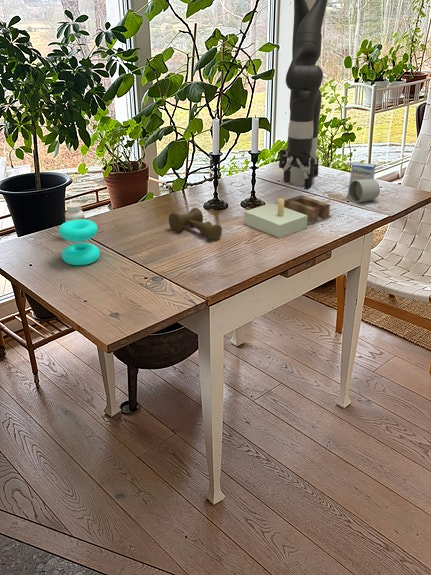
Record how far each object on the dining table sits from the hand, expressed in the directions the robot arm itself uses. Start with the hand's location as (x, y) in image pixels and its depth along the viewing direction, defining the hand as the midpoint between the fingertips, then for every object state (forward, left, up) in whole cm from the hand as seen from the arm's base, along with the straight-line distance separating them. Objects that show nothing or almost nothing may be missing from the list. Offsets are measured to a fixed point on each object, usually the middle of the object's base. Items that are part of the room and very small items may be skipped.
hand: (297, 185), depth 186 cm
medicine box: (-2, +37, -9) cm, 38 cm away
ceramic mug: (+6, +26, -9) cm, 28 cm away
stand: (+4, -14, -9) cm, 17 cm away
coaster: (+5, 0, -9) cm, 10 cm away
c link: (+5, 0, -8) cm, 10 cm away
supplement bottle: (-28, -64, -9) cm, 70 cm away
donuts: (-13, -71, -9) cm, 73 cm away
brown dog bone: (-8, -35, -9) cm, 37 cm away
